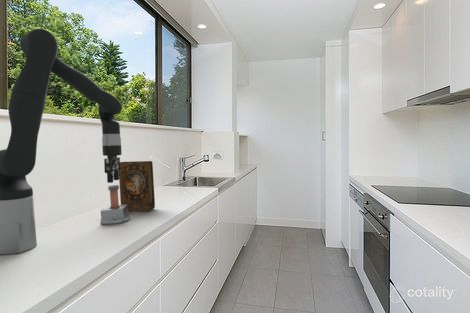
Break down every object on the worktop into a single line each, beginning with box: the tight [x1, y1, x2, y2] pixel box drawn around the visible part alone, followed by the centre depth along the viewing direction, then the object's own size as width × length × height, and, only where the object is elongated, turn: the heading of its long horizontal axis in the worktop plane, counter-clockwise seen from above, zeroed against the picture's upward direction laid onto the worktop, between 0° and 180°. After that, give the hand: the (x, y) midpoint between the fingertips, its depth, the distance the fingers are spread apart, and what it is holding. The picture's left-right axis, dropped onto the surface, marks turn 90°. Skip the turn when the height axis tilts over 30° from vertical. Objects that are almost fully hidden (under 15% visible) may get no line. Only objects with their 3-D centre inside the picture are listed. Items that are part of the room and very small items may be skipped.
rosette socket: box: [100, 204, 131, 226], centre depth 115 cm, size 12×12×6 cm
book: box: [118, 160, 156, 213], centre depth 131 cm, size 16×6×25 cm, turn 84°
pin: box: [107, 184, 120, 209], centre depth 115 cm, size 4×4×14 cm
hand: (113, 181), depth 114 cm, fingers open, 8 cm apart
